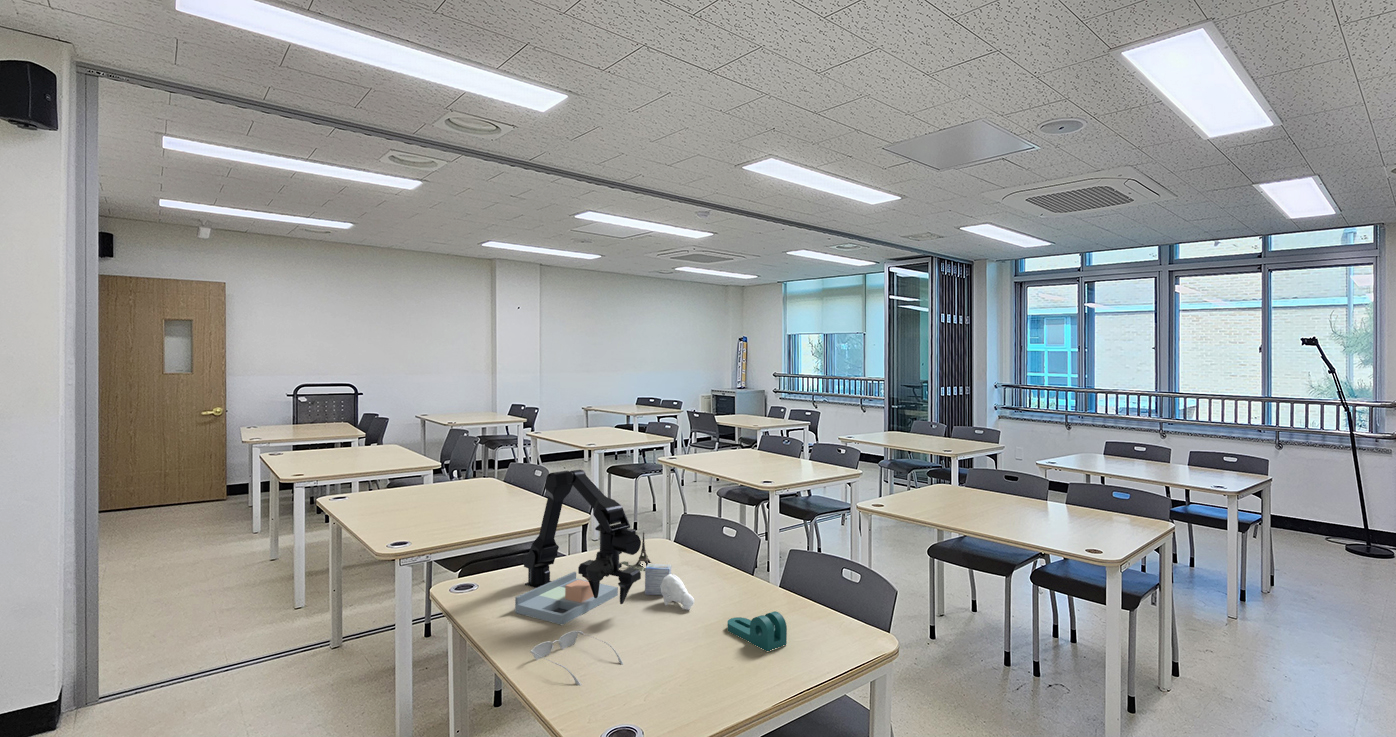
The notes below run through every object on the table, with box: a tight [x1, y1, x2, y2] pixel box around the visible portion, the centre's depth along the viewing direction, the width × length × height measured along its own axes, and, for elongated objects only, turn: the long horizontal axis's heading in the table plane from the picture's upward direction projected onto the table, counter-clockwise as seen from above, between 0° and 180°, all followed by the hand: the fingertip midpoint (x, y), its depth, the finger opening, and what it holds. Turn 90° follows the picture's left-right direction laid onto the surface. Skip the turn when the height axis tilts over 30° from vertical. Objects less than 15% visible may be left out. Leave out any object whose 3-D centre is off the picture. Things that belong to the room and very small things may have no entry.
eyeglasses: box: [529, 630, 624, 686], centre depth 152 cm, size 15×18×4 cm
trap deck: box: [514, 571, 619, 626], centre depth 190 cm, size 18×26×4 cm, turn 152°
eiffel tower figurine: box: [619, 531, 652, 572], centre depth 228 cm, size 15×10×13 cm
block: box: [565, 579, 594, 603], centre depth 188 cm, size 6×6×4 cm
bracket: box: [726, 610, 788, 652], centre depth 168 cm, size 18×7×8 cm, turn 37°
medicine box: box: [644, 563, 672, 596], centre depth 200 cm, size 8×4×9 cm, turn 84°
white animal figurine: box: [660, 573, 695, 611], centre depth 190 cm, size 6×8×12 cm
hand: (608, 600), depth 183 cm, fingers open, 9 cm apart
